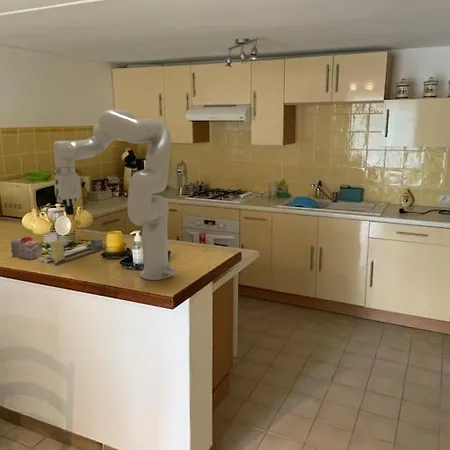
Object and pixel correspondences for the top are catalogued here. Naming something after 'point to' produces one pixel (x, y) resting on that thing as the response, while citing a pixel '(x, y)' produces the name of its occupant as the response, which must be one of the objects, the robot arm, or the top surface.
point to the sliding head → (57, 251)
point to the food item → (26, 248)
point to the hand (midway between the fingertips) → (69, 214)
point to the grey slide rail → (79, 251)
